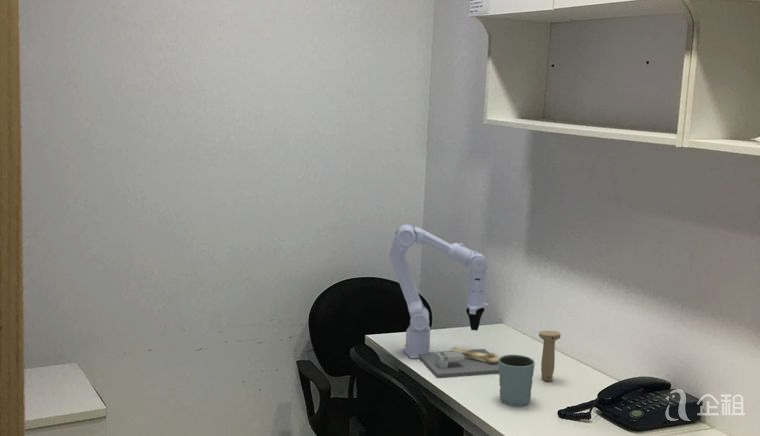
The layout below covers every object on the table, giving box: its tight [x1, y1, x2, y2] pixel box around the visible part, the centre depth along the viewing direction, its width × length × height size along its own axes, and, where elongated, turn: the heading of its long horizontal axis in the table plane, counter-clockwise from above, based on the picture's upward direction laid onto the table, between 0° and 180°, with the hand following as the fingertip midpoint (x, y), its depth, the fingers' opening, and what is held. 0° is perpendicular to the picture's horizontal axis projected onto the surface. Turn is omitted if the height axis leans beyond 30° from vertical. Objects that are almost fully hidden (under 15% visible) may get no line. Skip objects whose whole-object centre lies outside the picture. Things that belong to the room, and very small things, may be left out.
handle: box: [538, 330, 562, 382], centre depth 230 cm, size 5×6×15 cm
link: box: [449, 347, 500, 364], centre depth 245 cm, size 16×5×2 cm, turn 60°
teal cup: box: [498, 354, 536, 407], centre depth 214 cm, size 10×10×12 cm
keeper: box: [435, 351, 465, 369], centre depth 239 cm, size 8×5×4 cm, turn 105°
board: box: [418, 348, 499, 379], centre depth 243 cm, size 20×24×1 cm
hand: (474, 329), depth 250 cm, fingers closed
